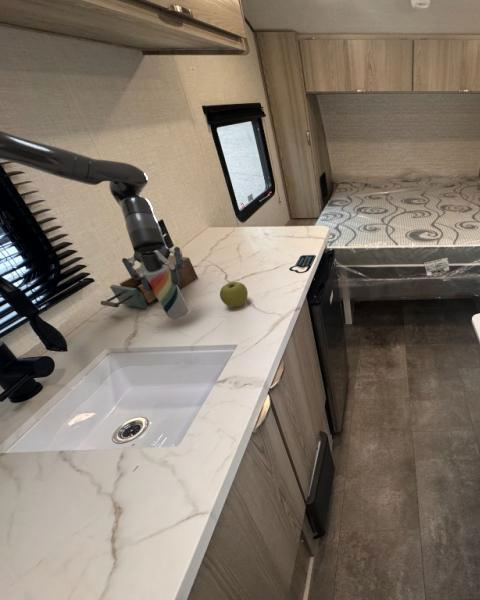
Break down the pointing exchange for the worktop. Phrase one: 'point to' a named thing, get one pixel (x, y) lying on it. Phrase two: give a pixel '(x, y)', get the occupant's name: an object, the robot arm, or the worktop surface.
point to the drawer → (130, 294)
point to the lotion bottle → (164, 286)
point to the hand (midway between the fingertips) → (163, 287)
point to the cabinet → (182, 271)
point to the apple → (234, 294)
